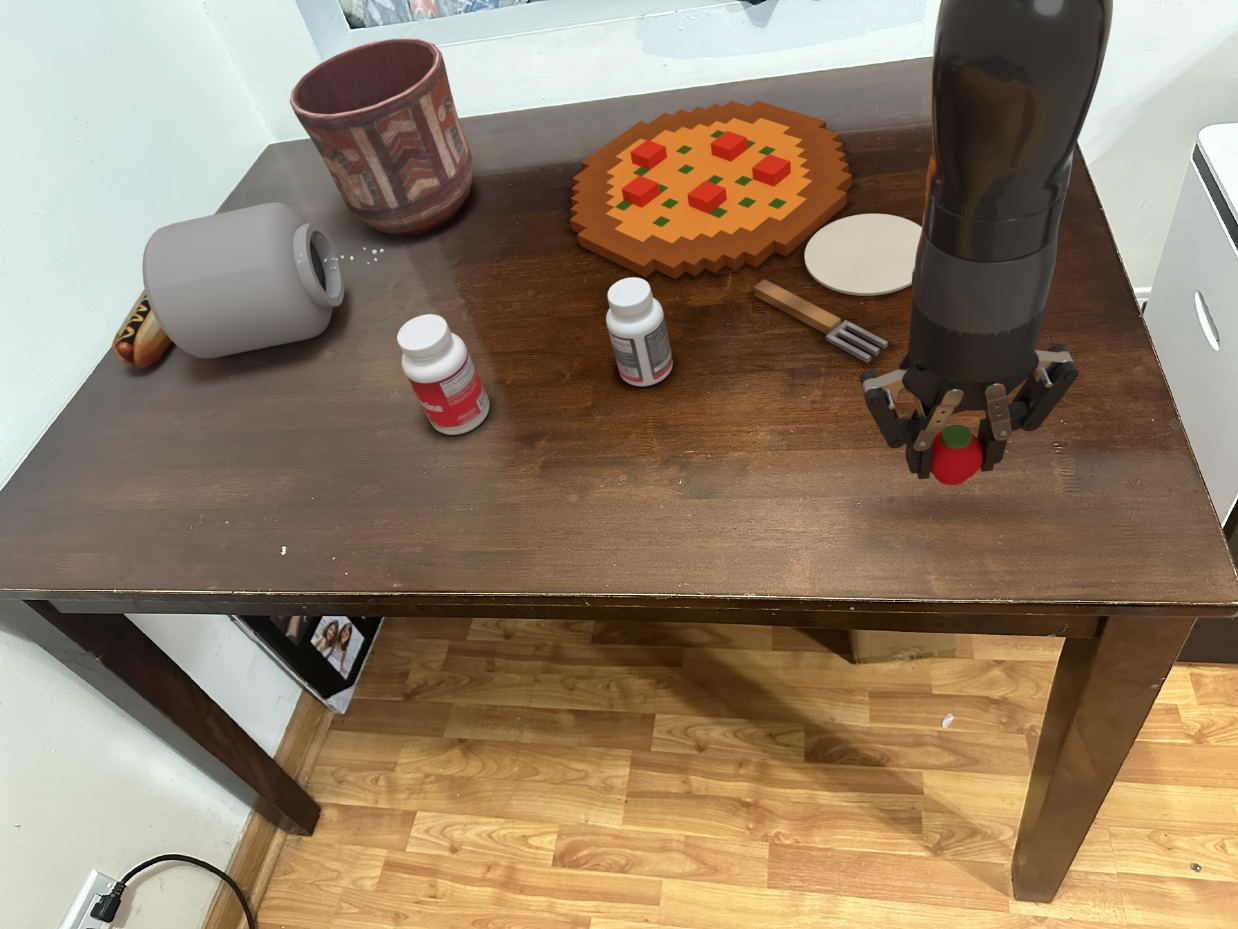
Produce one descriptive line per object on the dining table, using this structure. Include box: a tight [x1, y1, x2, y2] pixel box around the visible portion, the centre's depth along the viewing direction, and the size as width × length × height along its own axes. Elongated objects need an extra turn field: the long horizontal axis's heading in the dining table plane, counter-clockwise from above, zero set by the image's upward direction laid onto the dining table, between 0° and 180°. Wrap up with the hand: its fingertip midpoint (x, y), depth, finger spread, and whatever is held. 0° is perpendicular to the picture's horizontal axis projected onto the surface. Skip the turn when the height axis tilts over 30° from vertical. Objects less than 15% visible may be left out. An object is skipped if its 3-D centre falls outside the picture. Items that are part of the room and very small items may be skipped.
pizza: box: [568, 100, 853, 280], centre depth 101 cm, size 32×32×3 cm
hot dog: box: [111, 288, 173, 369], centre depth 102 cm, size 5×13×5 cm, turn 176°
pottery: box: [289, 37, 474, 237], centre depth 104 cm, size 18×18×18 cm
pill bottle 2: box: [605, 276, 674, 387], centre depth 81 cm, size 5×5×10 cm
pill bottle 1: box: [396, 313, 490, 436], centre depth 82 cm, size 6×6×11 cm
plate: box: [804, 213, 922, 297], centre depth 89 cm, size 13×13×1 cm
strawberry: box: [930, 423, 983, 486], centre depth 63 cm, size 4×4×4 cm
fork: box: [753, 278, 889, 364], centre depth 84 cm, size 15×3×1 cm, turn 41°
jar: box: [141, 201, 385, 360], centre depth 94 cm, size 19×15×25 cm
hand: (952, 465), depth 64 cm, fingers closed on strawberry, 4 cm apart
